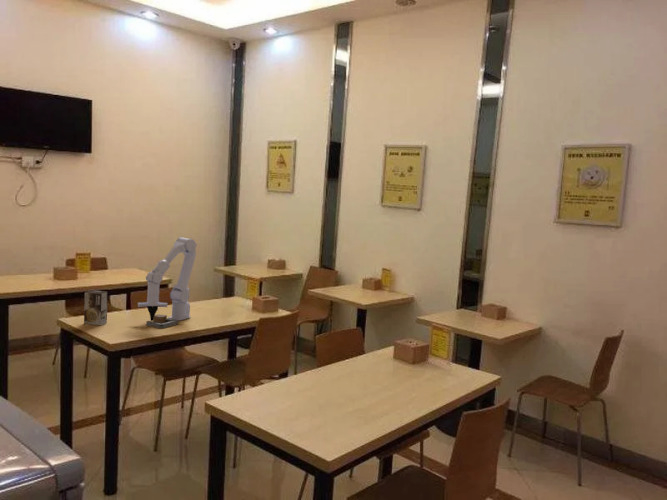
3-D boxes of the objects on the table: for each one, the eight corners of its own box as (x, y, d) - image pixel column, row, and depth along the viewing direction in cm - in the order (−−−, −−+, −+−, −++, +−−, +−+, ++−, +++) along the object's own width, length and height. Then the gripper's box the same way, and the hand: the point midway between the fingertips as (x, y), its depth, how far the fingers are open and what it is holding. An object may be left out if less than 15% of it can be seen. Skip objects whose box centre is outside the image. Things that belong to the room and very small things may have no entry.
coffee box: (107, 322, 275) (108, 291, 274) (100, 325, 269) (102, 293, 267) (90, 320, 276) (91, 289, 274) (83, 323, 270) (84, 291, 268)
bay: (162, 320, 288) (162, 317, 288) (177, 324, 284) (177, 320, 284) (146, 325, 277) (146, 321, 277) (161, 328, 273) (161, 324, 273)
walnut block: (157, 321, 285) (157, 314, 285) (166, 322, 285) (166, 315, 285) (153, 323, 280) (153, 316, 280) (162, 324, 280) (163, 317, 280)
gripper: (167, 293, 288) (165, 318, 289) (138, 293, 283) (136, 318, 284) (168, 296, 282) (166, 321, 283) (138, 295, 276) (137, 322, 278)
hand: (151, 320), depth 283 cm, fingers closed
